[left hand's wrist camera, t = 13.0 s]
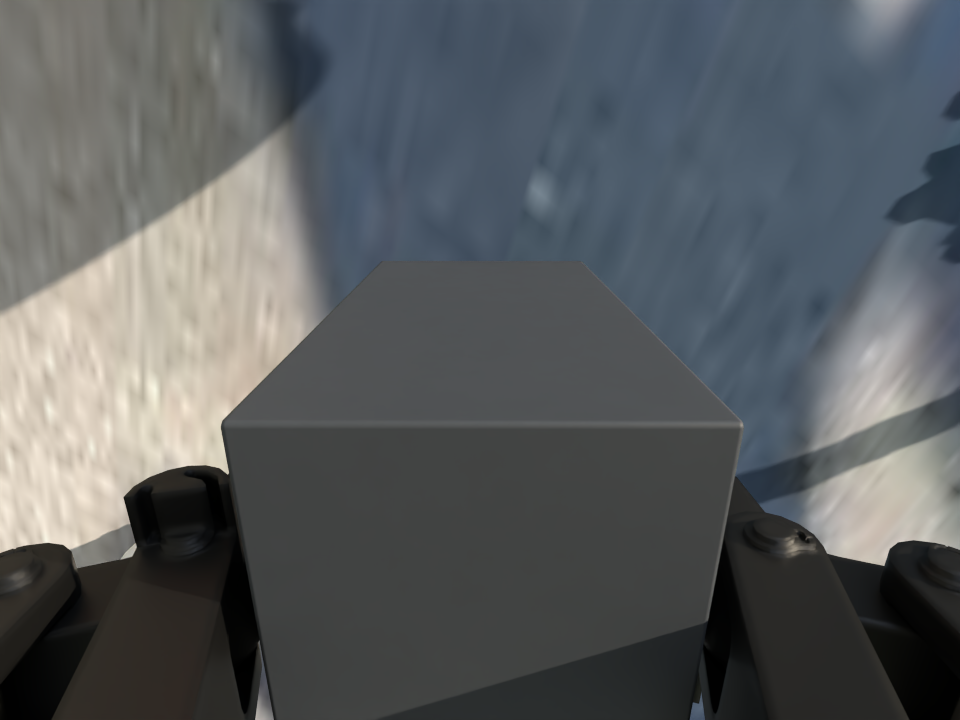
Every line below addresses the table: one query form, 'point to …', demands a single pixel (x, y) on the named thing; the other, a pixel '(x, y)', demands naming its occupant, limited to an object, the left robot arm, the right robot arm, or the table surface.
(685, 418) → the bar
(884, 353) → the table surface
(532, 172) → the table surface
